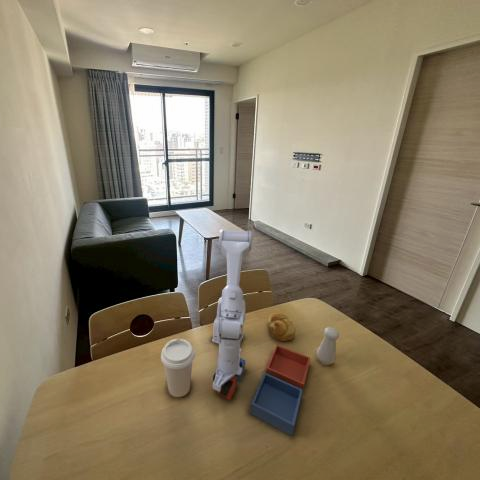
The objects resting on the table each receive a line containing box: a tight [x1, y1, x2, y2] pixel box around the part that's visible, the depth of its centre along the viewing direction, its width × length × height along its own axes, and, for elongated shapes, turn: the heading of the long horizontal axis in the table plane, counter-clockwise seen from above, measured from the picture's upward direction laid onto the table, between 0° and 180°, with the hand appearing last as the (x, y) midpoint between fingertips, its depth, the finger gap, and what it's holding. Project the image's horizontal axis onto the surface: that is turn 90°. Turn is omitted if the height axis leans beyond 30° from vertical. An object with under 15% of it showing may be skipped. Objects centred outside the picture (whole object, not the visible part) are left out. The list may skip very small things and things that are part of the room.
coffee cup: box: [160, 338, 196, 398], centre depth 73 cm, size 10×10×15 cm
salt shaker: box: [316, 326, 340, 367], centre depth 83 cm, size 6×6×13 cm
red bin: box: [265, 344, 311, 393], centre depth 80 cm, size 11×11×4 cm
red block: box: [217, 376, 237, 401], centre depth 74 cm, size 4×4×5 cm
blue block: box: [236, 357, 246, 382], centre depth 79 cm, size 4×4×5 cm
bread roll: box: [267, 312, 296, 342], centre depth 96 cm, size 13×10×8 cm
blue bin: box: [249, 372, 304, 437], centre depth 70 cm, size 11×11×4 cm
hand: (226, 387), depth 74 cm, fingers closed on red block, 4 cm apart
